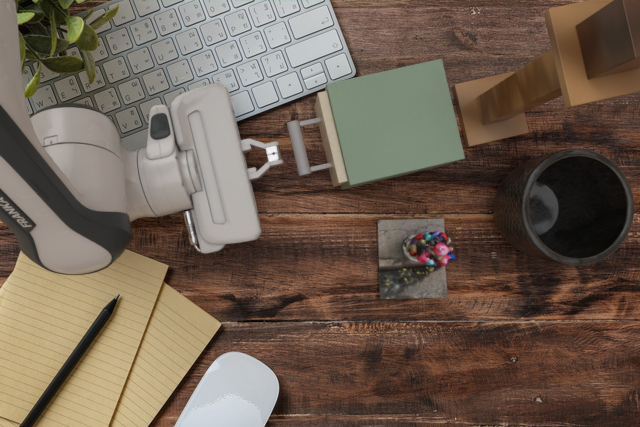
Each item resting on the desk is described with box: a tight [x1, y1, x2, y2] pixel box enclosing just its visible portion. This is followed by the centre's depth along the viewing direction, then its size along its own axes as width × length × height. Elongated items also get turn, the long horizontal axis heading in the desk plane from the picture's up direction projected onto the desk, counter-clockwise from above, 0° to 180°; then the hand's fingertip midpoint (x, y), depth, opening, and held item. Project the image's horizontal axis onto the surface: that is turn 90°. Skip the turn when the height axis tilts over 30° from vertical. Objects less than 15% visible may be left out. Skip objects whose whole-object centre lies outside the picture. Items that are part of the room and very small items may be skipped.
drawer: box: [286, 90, 348, 188], centre depth 63 cm, size 18×11×8 cm, turn 103°
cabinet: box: [324, 58, 466, 191], centre depth 63 cm, size 15×13×10 cm
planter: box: [492, 148, 635, 267], centre depth 63 cm, size 14×14×13 cm
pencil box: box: [576, 0, 640, 80], centre depth 40 cm, size 5×5×6 cm
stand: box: [451, 0, 640, 148], centre depth 56 cm, size 9×9×26 cm
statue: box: [376, 218, 456, 300], centre depth 61 cm, size 11×9×15 cm
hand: (280, 152), depth 61 cm, fingers closed
